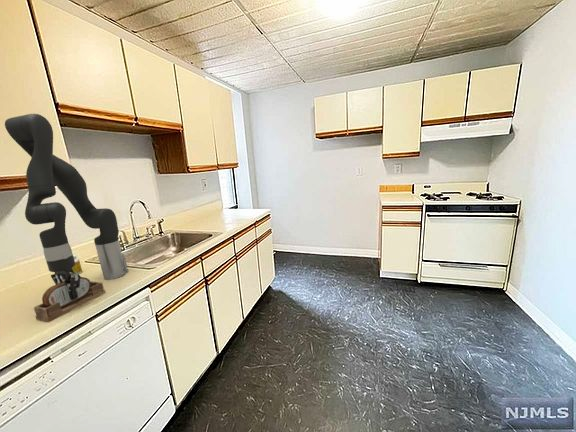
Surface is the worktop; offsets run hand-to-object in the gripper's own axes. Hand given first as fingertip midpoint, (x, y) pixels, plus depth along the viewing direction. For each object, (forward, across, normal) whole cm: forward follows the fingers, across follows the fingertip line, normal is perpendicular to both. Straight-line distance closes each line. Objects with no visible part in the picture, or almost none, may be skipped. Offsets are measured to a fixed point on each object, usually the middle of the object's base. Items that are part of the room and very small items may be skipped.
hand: (71, 298), depth 97 cm
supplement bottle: (+3, -36, +22) cm, 42 cm away
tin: (+1, 0, 0) cm, 1 cm away
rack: (+3, 0, 0) cm, 3 cm away
